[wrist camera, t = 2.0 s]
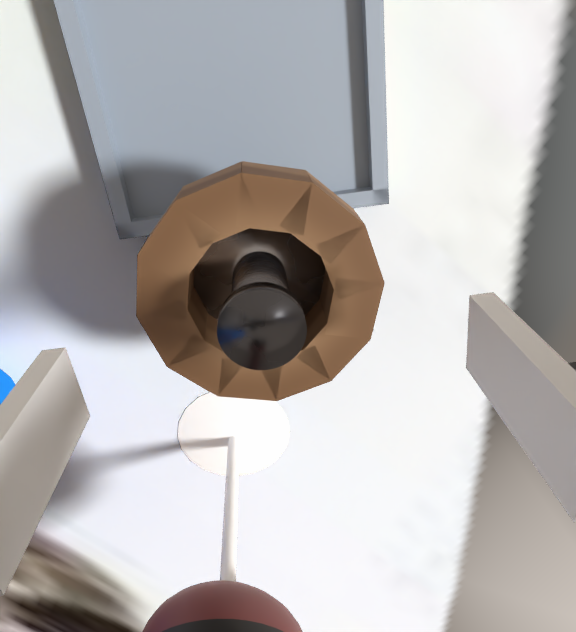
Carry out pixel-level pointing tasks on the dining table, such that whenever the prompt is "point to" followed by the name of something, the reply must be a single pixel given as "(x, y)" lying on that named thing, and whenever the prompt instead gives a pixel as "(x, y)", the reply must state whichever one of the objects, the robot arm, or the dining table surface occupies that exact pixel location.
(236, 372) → the ring
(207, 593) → the wineglass
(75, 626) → the dining table surface
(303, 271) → the metal peg stand
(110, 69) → the tray
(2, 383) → the thermos
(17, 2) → the dining table surface
